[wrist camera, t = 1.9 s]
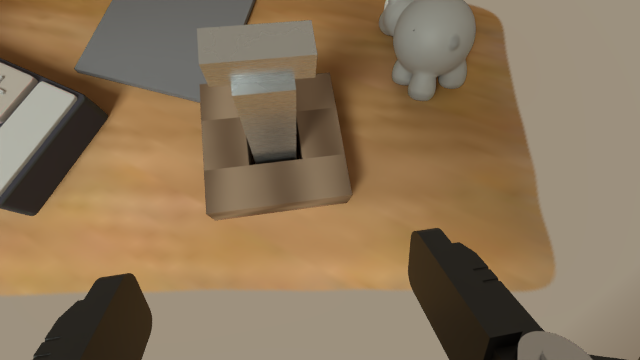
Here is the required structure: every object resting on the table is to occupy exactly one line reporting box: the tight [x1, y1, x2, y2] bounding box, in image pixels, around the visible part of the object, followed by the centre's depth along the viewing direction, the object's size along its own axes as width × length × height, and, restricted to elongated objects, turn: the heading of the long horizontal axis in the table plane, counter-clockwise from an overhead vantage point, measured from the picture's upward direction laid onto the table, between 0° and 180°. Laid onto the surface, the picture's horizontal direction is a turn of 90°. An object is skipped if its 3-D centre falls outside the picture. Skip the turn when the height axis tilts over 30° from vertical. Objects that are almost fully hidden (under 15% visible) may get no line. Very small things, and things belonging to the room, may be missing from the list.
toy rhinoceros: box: [379, 0, 476, 101], centre depth 32 cm, size 7×12×8 cm, turn 22°
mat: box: [74, 0, 255, 103], centre depth 34 cm, size 14×14×1 cm
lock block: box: [199, 73, 352, 220], centre depth 30 cm, size 12×12×3 cm
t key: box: [197, 20, 317, 164], centre depth 24 cm, size 6×4×15 cm, turn 99°
